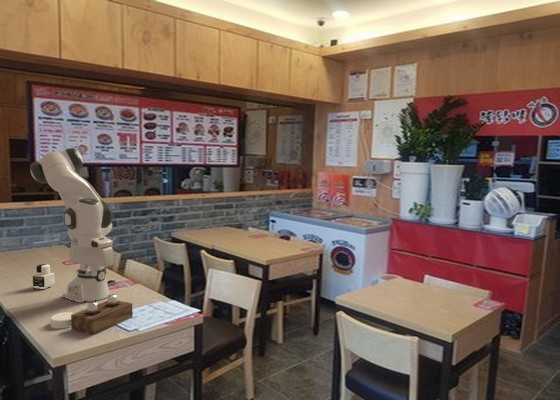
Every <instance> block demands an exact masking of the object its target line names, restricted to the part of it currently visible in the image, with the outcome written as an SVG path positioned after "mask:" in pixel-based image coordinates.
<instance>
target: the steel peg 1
mask: <svg viewBox="0 0 560 400" xmlns="http://www.w3.org/2000/svg"><path fill="white" fill-rule="evenodd" d="M86 303H87V308H88V315H92V316H93V315H95V314H97V313H98V304H99V303H98V301H88V302H86Z"/></svg>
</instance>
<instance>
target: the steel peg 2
mask: <svg viewBox="0 0 560 400" xmlns="http://www.w3.org/2000/svg"><path fill="white" fill-rule="evenodd" d="M106 298H107V301H108V307H114V306H117V301H118V295H117V293H114V294H113V293H112V294H109V295H108V296H107V297H106Z"/></svg>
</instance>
